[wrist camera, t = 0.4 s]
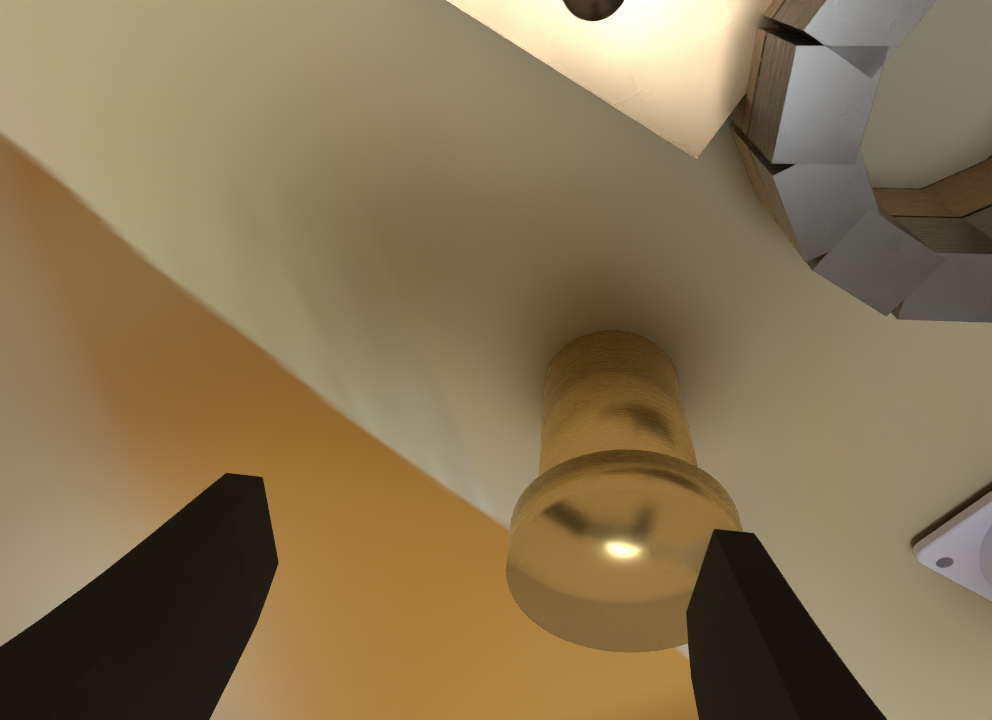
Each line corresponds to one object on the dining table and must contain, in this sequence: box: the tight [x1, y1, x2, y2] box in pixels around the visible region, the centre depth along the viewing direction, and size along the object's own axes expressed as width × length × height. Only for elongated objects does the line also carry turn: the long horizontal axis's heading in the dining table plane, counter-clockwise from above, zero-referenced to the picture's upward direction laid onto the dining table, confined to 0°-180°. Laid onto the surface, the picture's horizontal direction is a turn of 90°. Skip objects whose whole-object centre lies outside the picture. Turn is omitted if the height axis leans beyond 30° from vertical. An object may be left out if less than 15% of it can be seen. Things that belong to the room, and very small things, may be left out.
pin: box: [506, 331, 744, 652], centre depth 17 cm, size 5×5×7 cm
